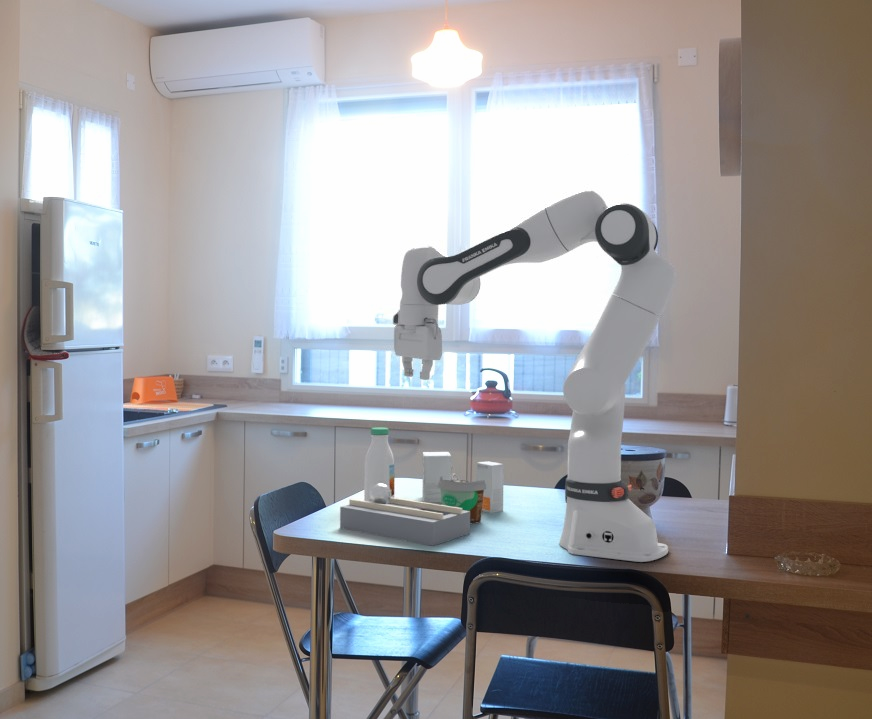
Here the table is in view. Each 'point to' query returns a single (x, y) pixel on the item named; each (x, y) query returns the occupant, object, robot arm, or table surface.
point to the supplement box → (435, 474)
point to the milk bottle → (379, 462)
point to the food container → (463, 496)
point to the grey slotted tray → (406, 520)
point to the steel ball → (380, 494)
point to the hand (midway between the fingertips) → (416, 378)
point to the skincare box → (491, 485)
